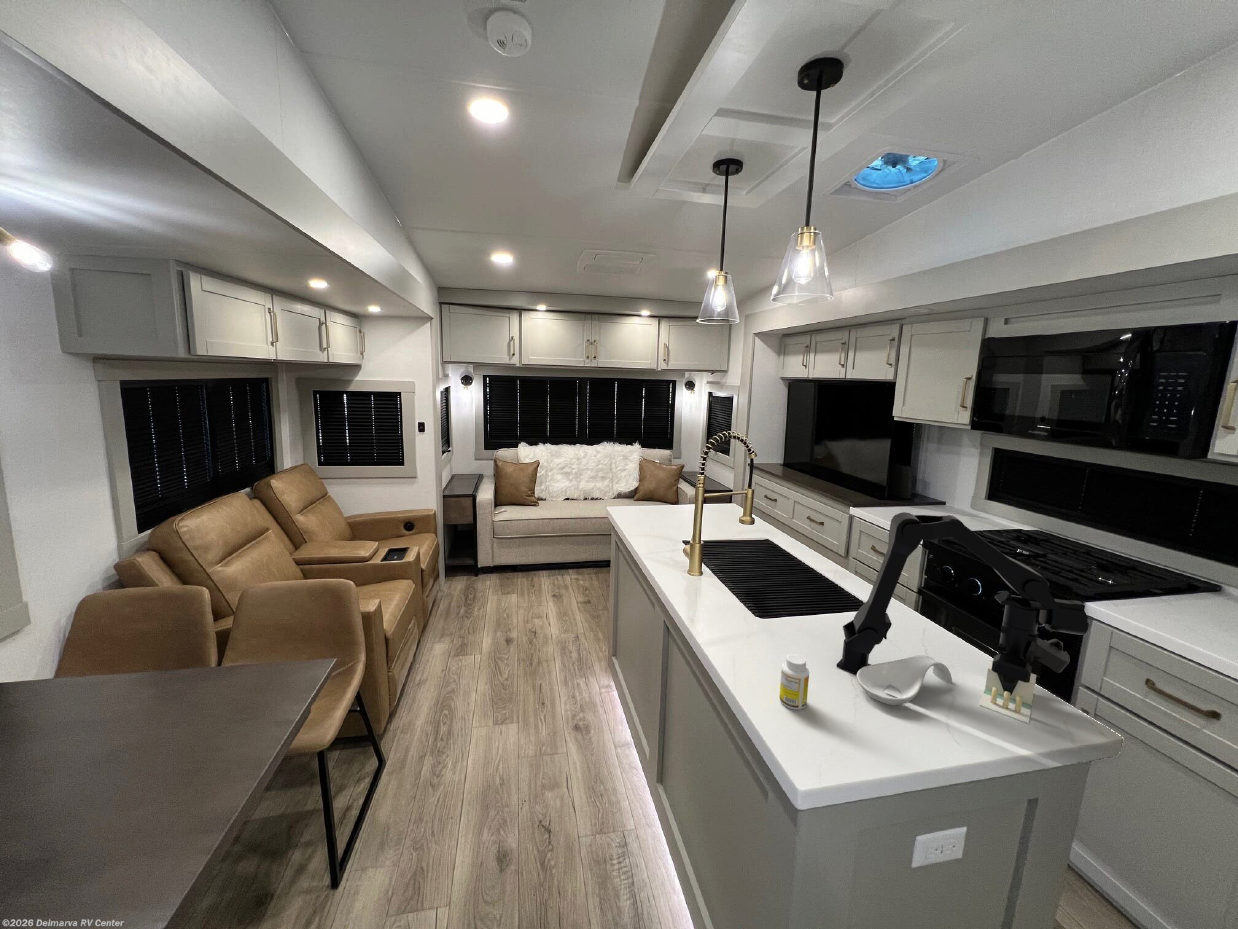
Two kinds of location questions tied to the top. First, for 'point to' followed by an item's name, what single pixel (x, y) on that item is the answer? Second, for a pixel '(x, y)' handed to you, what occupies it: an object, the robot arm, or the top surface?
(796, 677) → the supplement bottle
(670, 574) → the top surface
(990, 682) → the block
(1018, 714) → the header board
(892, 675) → the spoon rest
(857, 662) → the robot arm
